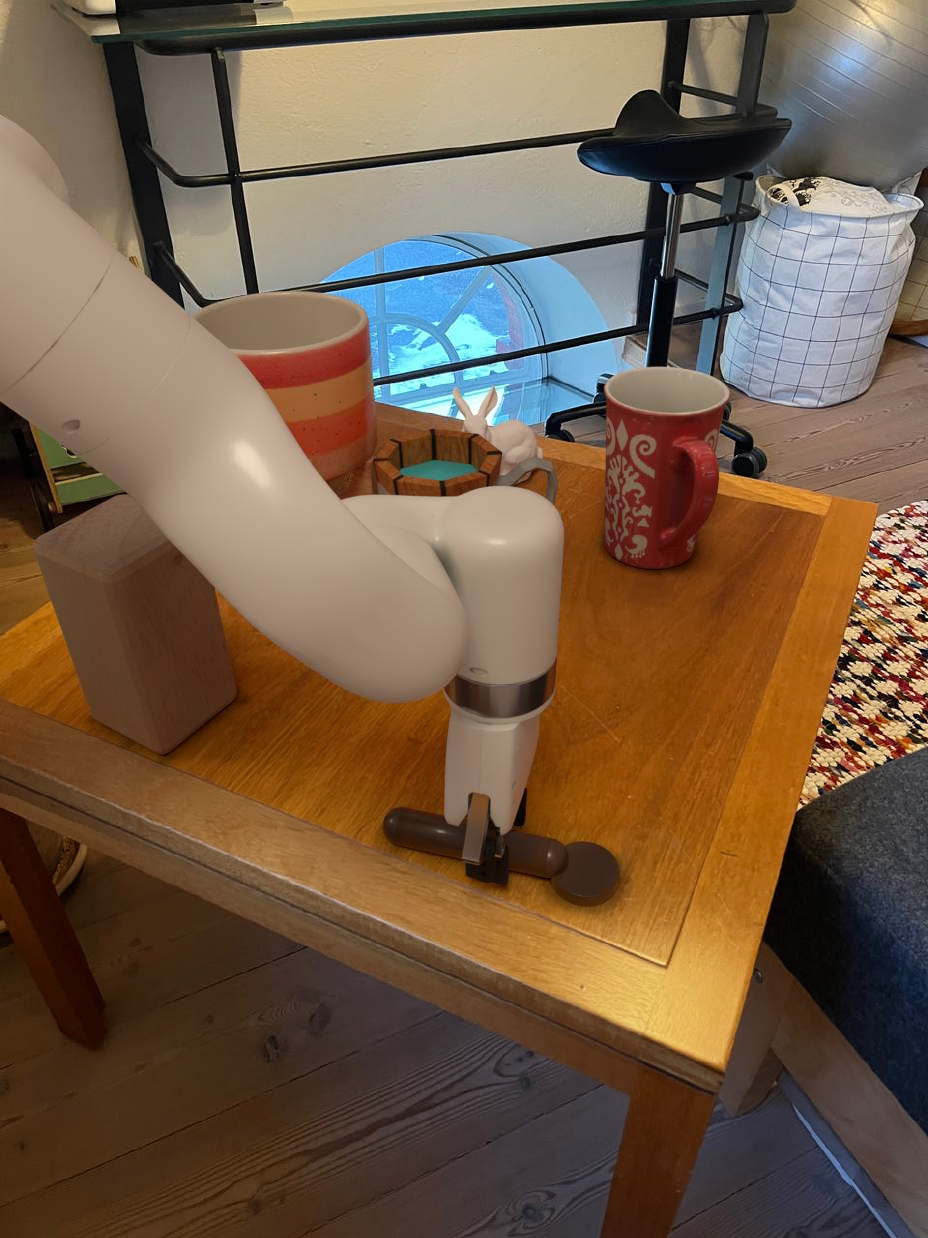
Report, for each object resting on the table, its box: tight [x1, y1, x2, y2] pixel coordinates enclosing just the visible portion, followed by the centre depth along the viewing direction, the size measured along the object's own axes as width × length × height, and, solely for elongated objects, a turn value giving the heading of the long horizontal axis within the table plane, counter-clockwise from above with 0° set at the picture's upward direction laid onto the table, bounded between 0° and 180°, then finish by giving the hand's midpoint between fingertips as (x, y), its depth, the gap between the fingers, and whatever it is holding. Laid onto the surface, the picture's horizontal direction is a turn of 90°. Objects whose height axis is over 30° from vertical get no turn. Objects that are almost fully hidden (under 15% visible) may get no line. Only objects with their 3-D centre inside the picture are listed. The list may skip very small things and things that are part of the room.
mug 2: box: [603, 366, 731, 570], centre depth 100 cm, size 18×13×20 cm
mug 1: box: [373, 428, 559, 507], centre depth 100 cm, size 20×14×15 cm
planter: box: [190, 290, 379, 500], centre depth 102 cm, size 20×20×27 cm
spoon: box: [381, 806, 620, 907], centre depth 71 cm, size 19×5×3 cm, turn 74°
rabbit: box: [452, 384, 544, 485], centre depth 120 cm, size 12×9×12 cm
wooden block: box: [32, 493, 238, 755], centre depth 80 cm, size 10×10×20 cm
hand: (496, 847), depth 71 cm, fingers open, 5 cm apart
